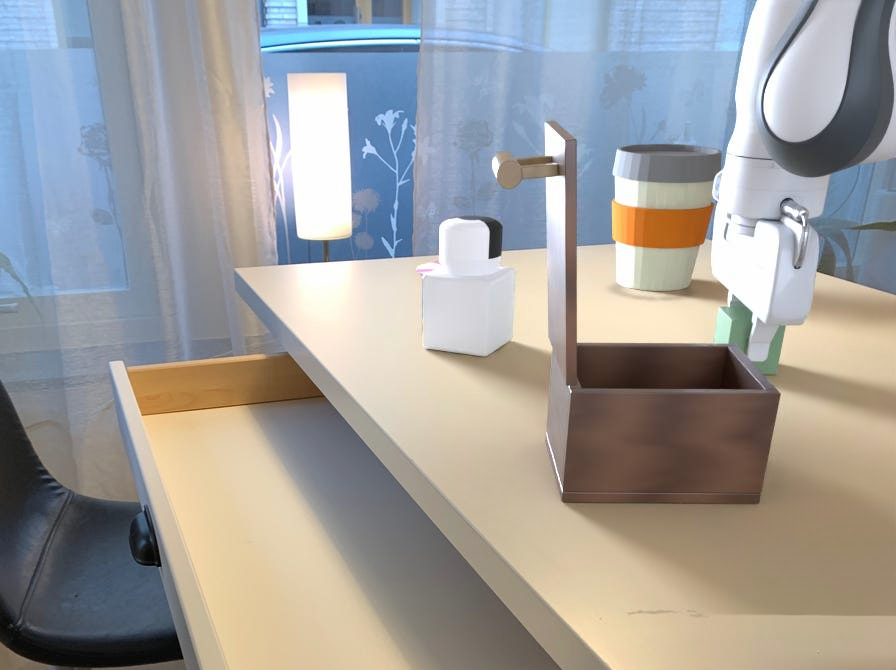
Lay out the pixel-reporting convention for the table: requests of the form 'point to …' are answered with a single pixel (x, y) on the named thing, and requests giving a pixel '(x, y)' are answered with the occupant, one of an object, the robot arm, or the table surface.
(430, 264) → the cd
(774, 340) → the block
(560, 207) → the lid
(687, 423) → the box
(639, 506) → the table surface
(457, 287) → the medicine bottle
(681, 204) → the reusable coffee cup
